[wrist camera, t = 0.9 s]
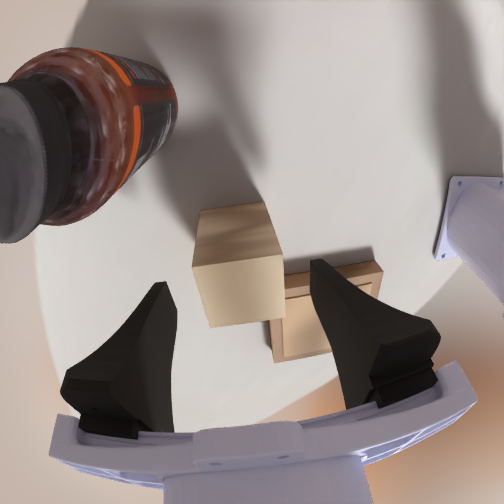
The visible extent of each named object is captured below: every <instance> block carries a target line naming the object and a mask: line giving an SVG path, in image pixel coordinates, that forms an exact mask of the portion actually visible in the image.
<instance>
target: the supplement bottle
mask: <svg viewBox="0 0 504 504" xmlns="http://www.w3.org/2000/svg"><path fill="white" fill-rule="evenodd" d="M177 114H178V103H177V97H176V93H175V90H174V88H173V85H172V84H171V82H170V81H169V79H168V78H167V77H166V76H165V75H164V74H163V73H162V72H160V71H159V70H157V69H156V68H154V67H152V66H150V65H147V64H144V63H141V62H137V61H134V60H130V59H127V58H123V57H119V56H115V55H111V54H107V53H103V52H98V51H92V50H88V49H82V48H72V47H71V48H59V49H55V50H51V51H48V52H45V53H42V54H40V55H38V56H36V57H34V58H32V59H31V60H29V61H28V62H26V63H25V64H24V65H23V66H21V67H20V68H19V69H18V70H17V71H16V72H15V73H14V74H13V75H12V77H11V78H10V79H9V80H8V82H5V83H0V243H16V242H18V241H20V240H22V239H23V238H25V237H26V236H28V235H29V234H30V233H31V232H32V231H33V230H34V229H35V228H36V227H37V226H38V225H39V224H43V225H52V226H62V225H68V224H72V223H75V222H77V221H80V220H82V219H84V218H86V217H88V216H90V215H91V214H93V213H94V212H95V211H97V210H98V209H99V208H100V207H101V206H102V205H104V204H105V203H106V202H107V201H108V200H109V199H110V198H111V196H112V195H113V194H114V193H115V192H116V191H117V190H118V189H119V188H120V187H122V185H123V184H125V183H126V181H127V180H128V179H129V178H130V177H131V176H132V175H133V174H134V173H135V172H136V171H137V170H138V169H139V168H140V167H141V166H142V165H143V164H144V163H145V162H146V161H147V160H148V159H149V158H151V157H152V156H153V155H154V154H155V153H156V152H157V151H158V150H159V149H160V148H161V147H162V146H163V145H164V143H165V142H166V141H167V139H168V138H169V136H170V135H171V133H172V130H173V128H174V126H175V123H176V120H177Z"/></svg>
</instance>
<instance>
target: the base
mask: <svg viewBox="0 0 504 504" xmlns="http://www.w3.org/2000/svg"><path fill="white" fill-rule="evenodd" d="M334 269H335V270H336V271H338V272H339V273H340V274H341V275H342V276H344V277H345V278H346V279H347V280H349V281H350V282H351V283H353V284H354V285H355V286H357V287H358V288H360V289H361V290H362V291H364V292H365V293H367V294H369V295H370V296H372V297H374V298H375V299H377V298H378V294H379V289H380V285H381V281H382V276H383V272H384V271H383V270H382V269H381V267H380V266H379V265H378V263H377V262H376V261H369V262H364V263H358V264H353V265H347V266H341V267H335V268H334ZM284 288H285V312H286V317H285V318H278V319H272V320H269V327H270V337H271V347H272V354H273V360H274V363H278V362H284V361H290V360H295V359H301V358H306V357H311V356H316V355H321V354H325V353H330V352H332V349H331V346H330V344H329V341H328V339H327V336H326V334H325V332H324V329H323V327H322V325H321V322H320V320H319V318H318V315H317V313H316V311H315V308H314V305H313V302H312V298H311V295H310V272H305V273H298V274H292V275H286V276H284Z"/></svg>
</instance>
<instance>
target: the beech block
mask: <svg viewBox="0 0 504 504" xmlns="http://www.w3.org/2000/svg"><path fill="white" fill-rule="evenodd" d="M192 270H193V274H194V277H195V281H196V284H197V287H198V291H199V294H200V297H201V300H202V304H203V307H204V310H205V313H206V316H207V319H208V322H209V325H210V328H213V327H222V326H230V325H237V324H245V323H252V322H259V321H266V320H272V319H278V318H285V317H286V312H285V288H284V267H283V253H282V250H281V247H280V245H279V242H278V239H277V236H276V233H275V230H274V227H273V225H272V222H271V219H270V216H269V213H268V211H267V208H266V205H265V202H257V203H250V204H243V205H236V206H229V207H222V208H215V209H209V210H203V211H201V212H200V217H199V223H198V229H197V235H196V242H195V248H194V255H193V261H192Z"/></svg>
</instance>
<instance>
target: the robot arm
mask: <svg viewBox="0 0 504 504" xmlns="http://www.w3.org/2000/svg"><path fill="white" fill-rule="evenodd" d="M458 182H459V183H458ZM456 256H459V257H460V258H461V259H462V260H463V261H464V262H465V263H466V264H467V265H468V266H469V267H470V268H471V269H472V270H473V271H474V272H475V273H476V274H477V276H478V277H479V278H480V279H481V280H482V281H483V282H484V283H485V284H486V285H487V287H488V288H489V289H490V290H491V291H492V292H493V293H494V294H495V296H496V297H497V298H498V299H499V300H500V302H501V303H502V304H503V305H504V178H503V177H479V176H453V177H452V178H451V180H450V184H449V191H448V197H447V202H446V207H445V212H444V217H443V222H442V226H441V231H440V235H439V239H438V243H437V246H436V250H435V254H434V259H435V260H437V261H440V260H444V259H448V258H452V257H456ZM310 295H311V298H312V302H313V305H314V308H315V311H316V313H317V315H318V318H319V320H320V322H321V325H322V327H323V329H324V332H325V334H326V336H327V339H328V341H329V344H330V346H331V349H332V352H333V356H334V359H335V363H336V366H337V370H338V374H339V378H340V382H341V387H342V391H343V395H344V400H345V406H346V410H344V411H340V412H337V413H333V414H329V415H325V416H321V417H316V418H312V419H307V420H303V421H297V422H293V421H277V422H269V423H262V424H254V425H246V426H236V427H224V428H211V429H204V430H200V431H198V432H196V433H174V425H173V415H172V401H171V367H172V359H173V352H174V345H175V338H176V331H177V308H176V306H175V303H174V301H173V298H172V296H171V293H170V290H169V288H168V285H167V282H166V281H164V282H157V283H154V285H153V286H152V287H151V289H150V290H149V291H148V293H147V294H146V295H145V297H144V298H143V300H142V301H141V302H140V304H139V305H138V306H137V308H136V309H135V310H134V311H133V313H132V314H131V315H130V316H129V318H128V319H127V320H126V321H125V323H124V324H123V325H122V326H121V327H120V328H119V329H118V330H117V331H116V332H115V333H114V334H113V335H112V336H111V337H110V338H109V339H108V340H107V341H106V342H105V343H104V344H103V345H102V346H100V347H99V348H98V349H97V350H96V351H94V352H93V353H92V354H91V355H89V356H88V357H86V358H85V359H84V360H82V361H81V362H79V363H77V364H76V365H74V366H73V367H71V368H69V369H67V371H66V374H65V377H64V380H63V383H62V386H61V389H60V393H61V395H62V397H63V399H64V400H65V401H66V402H67V403H68V404H70V405H71V406H72V407H73V408H74V409H75V410H77V411H78V412H79V413H80V414H81V416H80V419H78V418H76V417H73V416H68V415H63V414H58V415H57V419H56V423H55V427H54V432H53V436H52V441H51V445H50V451H49V456H50V457H52V458H54V459H56V460H58V461H59V462H62V463H63V464H65V465H67V466H69V467H72V468H73V469H75V470H78V471H80V472H83V473H87V474H91V475H94V476H98V477H102V478H106V479H110V480H115V481H118V482H123V483H128V484H133V485H138V486H143V487H150V488H156V489H164V504H373V500H372V497H371V493H370V490H369V485H368V482H367V478H366V475H365V471H364V468H363V466H366V465H368V464H371V463H374V462H376V461H379V460H381V459H383V458H386V457H388V456H390V455H392V454H395V453H397V452H399V451H401V450H403V449H405V448H408V447H410V446H412V445H413V444H416V443H417V442H419V441H421V440H423V439H425V438H427V437H429V436H431V435H433V434H434V433H436V432H438V431H440V430H442V429H443V428H445V427H447V426H448V425H450V424H452V423H454V422H455V421H456V420H457V419H458V418H459V417H460V416H462V415H463V414H464V413H465V412H466V411H467V410H468V409H469V408H470V407H471V406H473V405H474V404H475V403H476V402H477V400H478V398H477V396H476V394H475V392H474V390H473V388H472V386H471V384H470V383H469V381H468V379H467V378H466V376H465V374H464V372H463V370H462V369H461V367H460V365H459V363H458V362H457V361H453V362H451V363H449V364H448V365H445V366H443V367H441V368H439V369H438V370H437V371H435V373H434V371H433V369H432V367H433V365H434V363H433V362H432V360H431V357H432V356H433V354H434V352H435V351H436V349H437V347H438V345H439V343H440V339H441V336H440V334H439V332H438V331H437V329H436V328H435V326H434V325H433V323H432V322H431V321H430V320H428V319H424V318H421V317H417V316H414V315H411V314H408V313H405V312H403V311H400V310H398V309H395V308H393V307H391V306H389V305H387V304H385V303H383V302H381V301H379V300H377V299H375V298H374V297H372V296H370V295H369V294H367V293H365V292H364V291H362V290H361V289H360V288H358V287H357V286H355V285H354V284H353V283H351V282H350V281H349V280H347V279H346V278H345V277H344V276H342V275H341V274H340V273H339V272H338V271H336V270H335V269H334V268H333V267H332V266H330V265H329V264H328V263H327V262H326V261H325V260H323V259H315V260H310ZM502 316H503V318H504V313H503V315H502Z"/></svg>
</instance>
